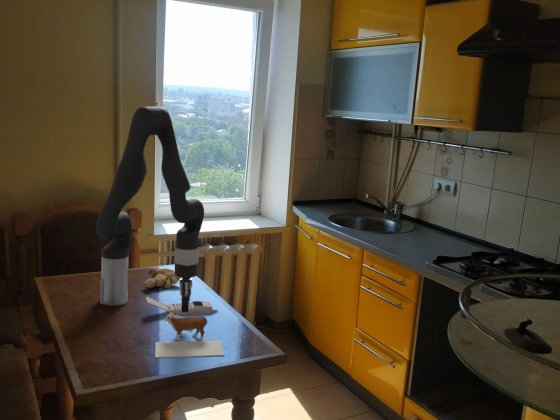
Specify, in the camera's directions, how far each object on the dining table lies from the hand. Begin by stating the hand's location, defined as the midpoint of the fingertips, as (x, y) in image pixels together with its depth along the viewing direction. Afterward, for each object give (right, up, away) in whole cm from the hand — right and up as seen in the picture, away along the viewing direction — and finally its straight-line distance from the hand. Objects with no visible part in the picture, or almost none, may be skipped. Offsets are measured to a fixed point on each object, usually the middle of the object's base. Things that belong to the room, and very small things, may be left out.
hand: (184, 311), depth 176 cm
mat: (+4, -9, -14) cm, 17 cm away
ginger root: (-17, +3, +41) cm, 45 cm away
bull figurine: (+1, -7, -7) cm, 10 cm away
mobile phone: (-4, -3, +14) cm, 15 cm away
